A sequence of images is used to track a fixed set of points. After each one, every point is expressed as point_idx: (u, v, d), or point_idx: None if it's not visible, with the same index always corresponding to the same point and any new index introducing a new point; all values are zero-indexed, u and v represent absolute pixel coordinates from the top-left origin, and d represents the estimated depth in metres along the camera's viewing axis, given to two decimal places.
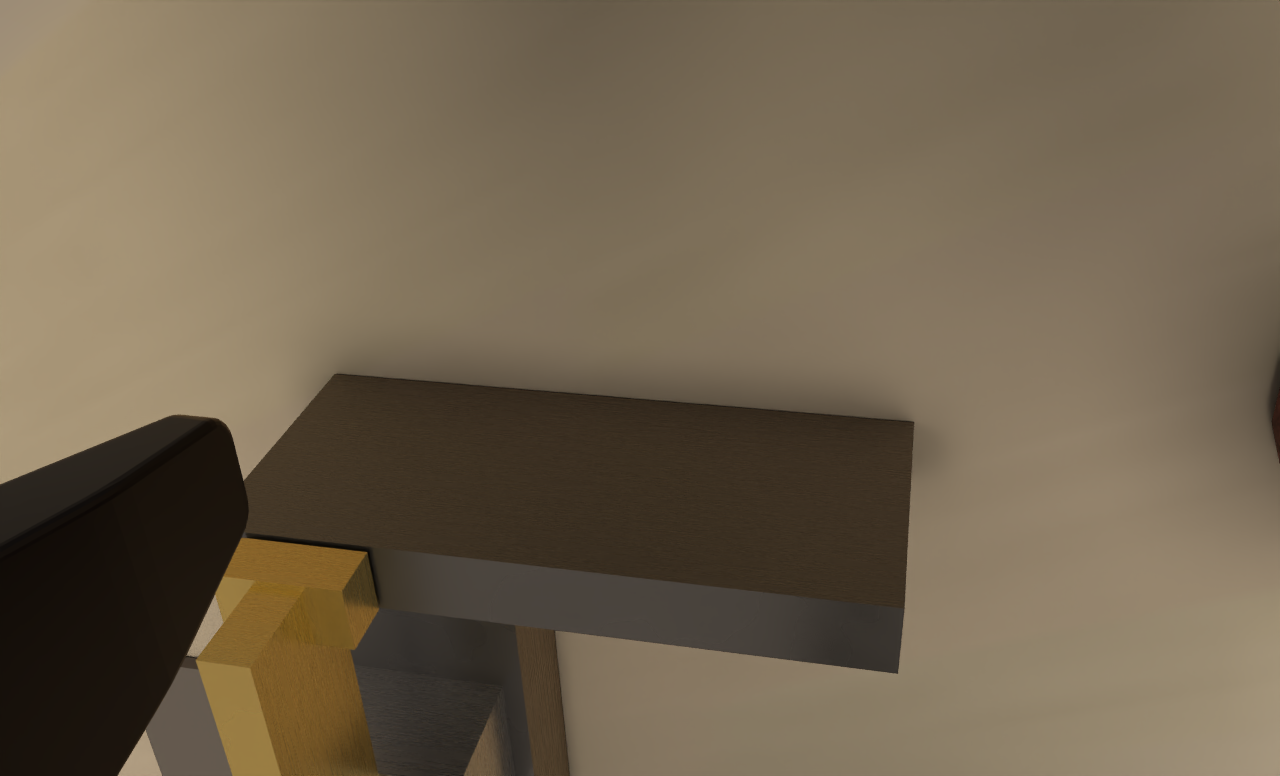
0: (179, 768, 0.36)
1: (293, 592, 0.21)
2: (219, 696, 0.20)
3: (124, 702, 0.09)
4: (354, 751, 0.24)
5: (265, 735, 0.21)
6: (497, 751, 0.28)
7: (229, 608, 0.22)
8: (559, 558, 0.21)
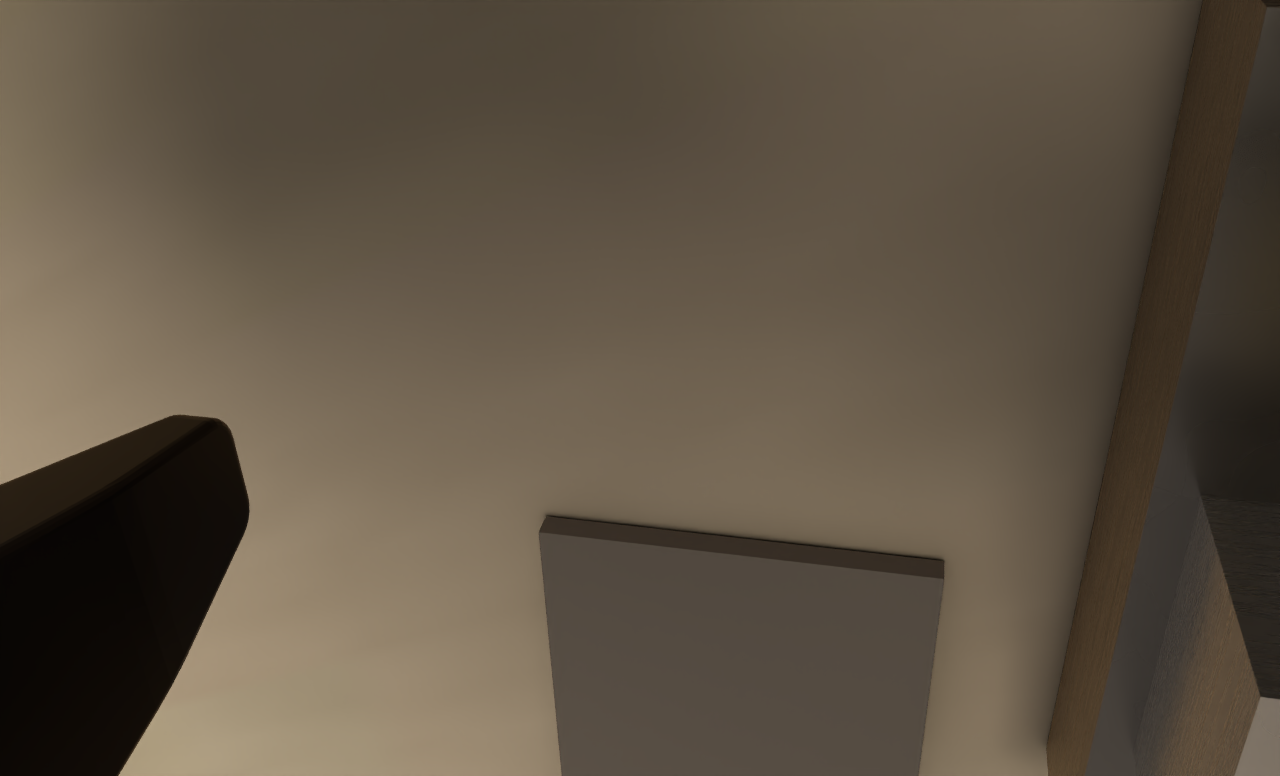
0: (599, 742, 0.20)
1: None
2: None
3: (126, 701, 0.09)
4: None
5: None
6: None
7: None
8: None
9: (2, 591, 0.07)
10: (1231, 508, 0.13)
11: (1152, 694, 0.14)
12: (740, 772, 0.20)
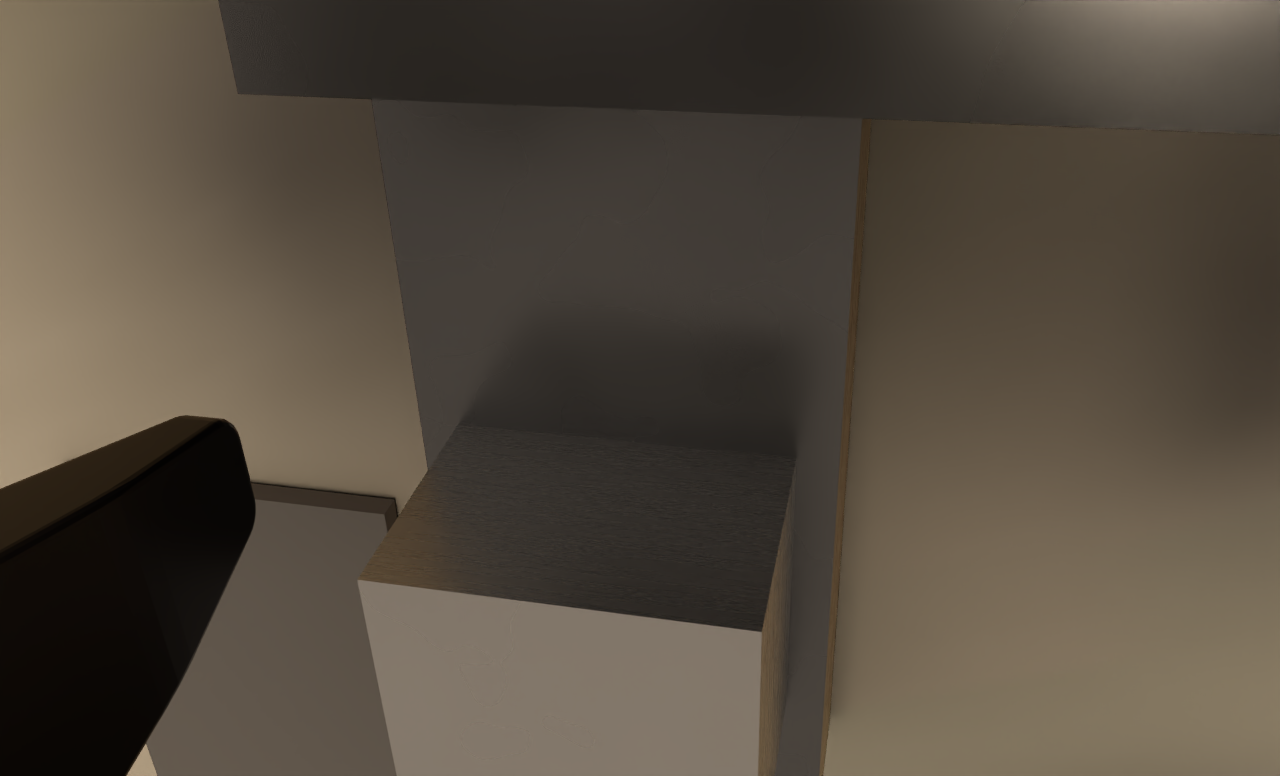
0: None
1: None
2: None
3: (131, 703, 0.09)
4: None
5: None
6: (785, 590, 0.14)
7: None
8: None
9: (10, 592, 0.07)
10: (473, 434, 0.15)
11: None
12: (275, 700, 0.22)
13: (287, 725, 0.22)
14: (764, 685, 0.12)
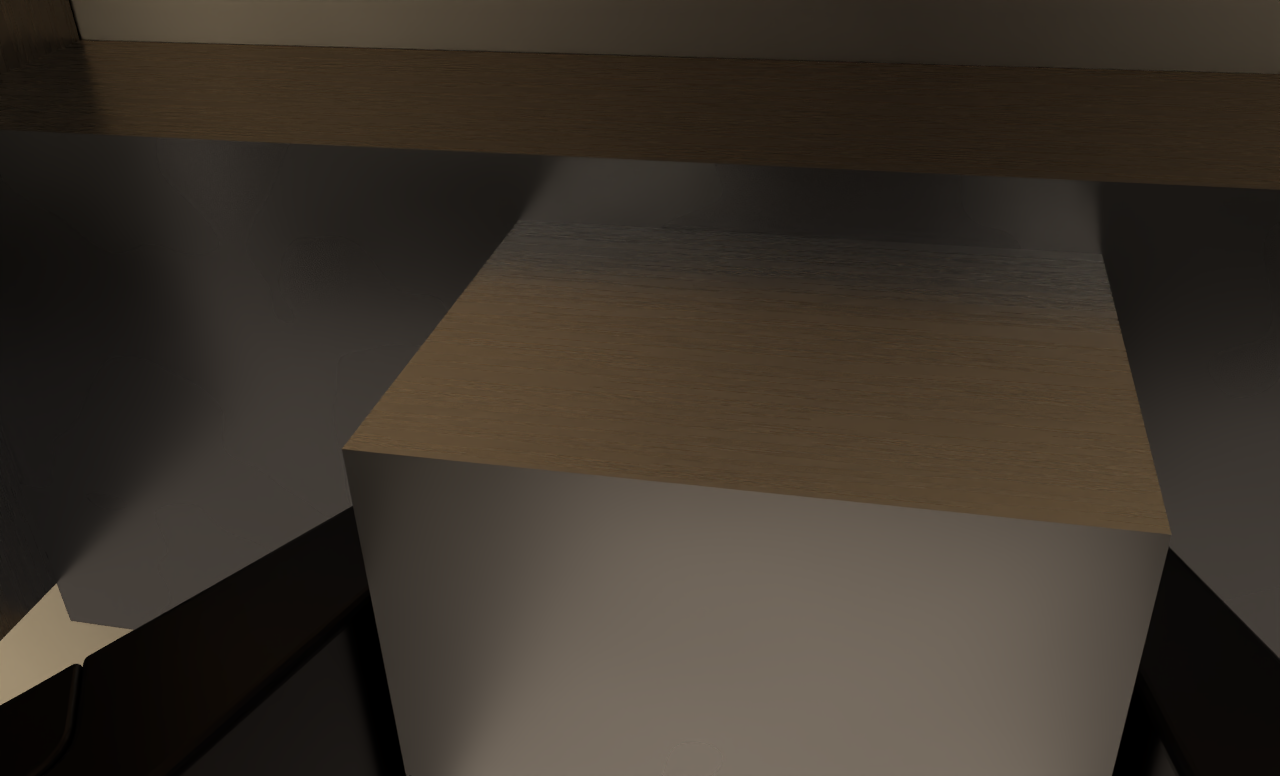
0: None
1: None
2: None
3: None
4: None
5: None
6: (678, 280, 0.08)
7: None
8: None
9: (361, 641, 0.07)
10: None
11: None
12: None
13: None
14: (562, 429, 0.06)
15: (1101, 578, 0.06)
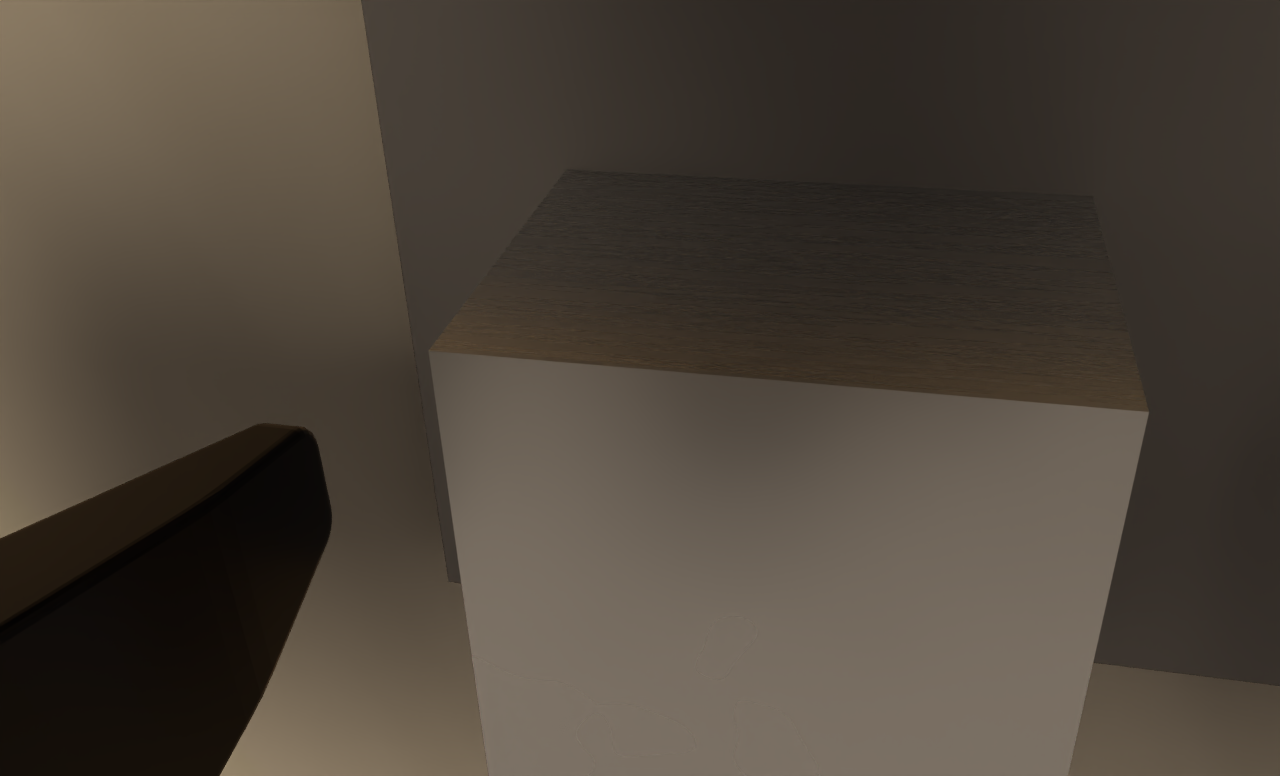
0: None
1: None
2: None
3: (218, 717, 0.08)
4: None
5: None
6: (713, 218, 0.09)
7: None
8: None
9: (108, 606, 0.07)
10: None
11: None
12: None
13: None
14: (620, 334, 0.07)
15: (1089, 453, 0.06)
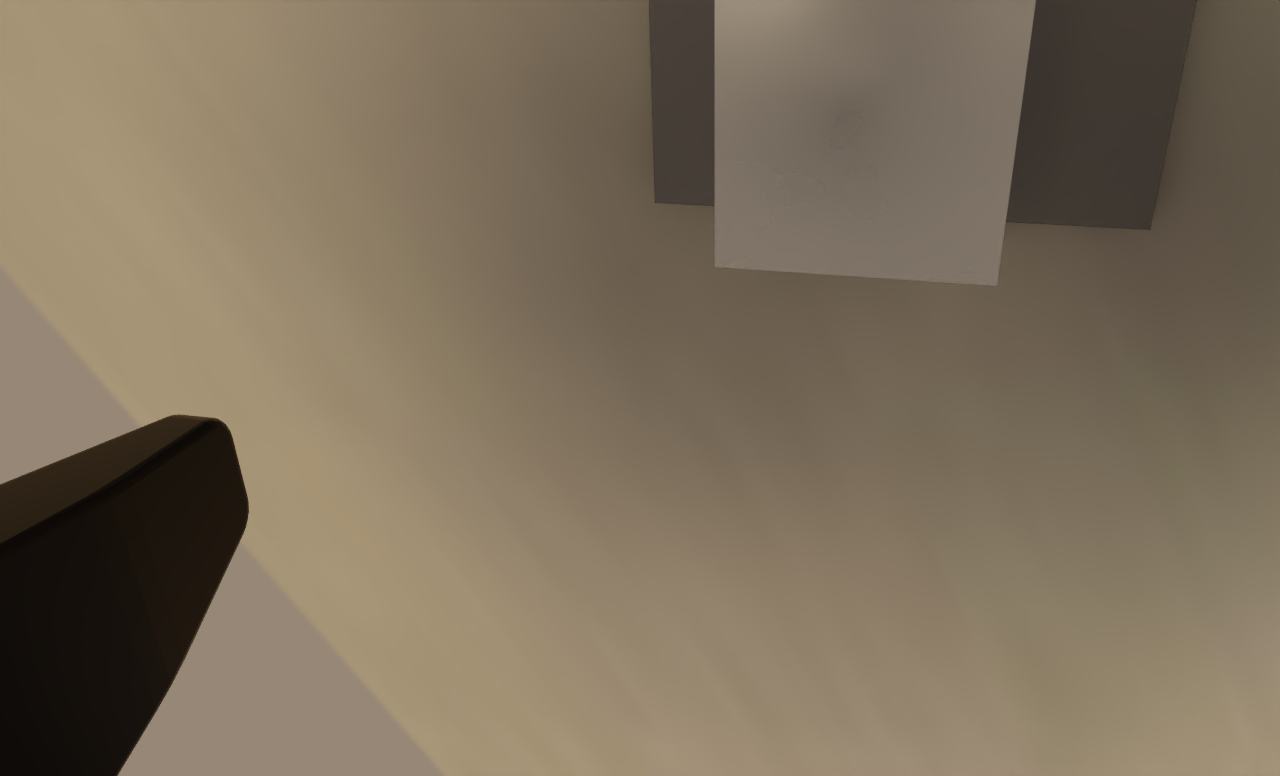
0: None
1: None
2: None
3: (124, 702, 0.09)
4: None
5: None
6: None
7: None
8: None
9: (1, 591, 0.07)
10: None
11: None
12: None
13: None
14: None
15: None
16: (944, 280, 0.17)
